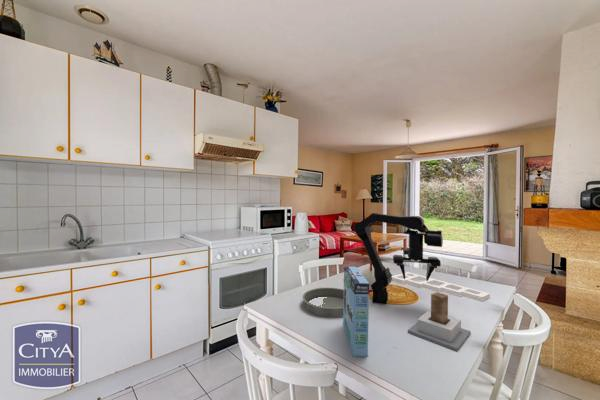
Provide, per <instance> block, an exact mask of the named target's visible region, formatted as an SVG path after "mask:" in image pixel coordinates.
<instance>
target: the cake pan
mask: <svg viewBox="0 0 600 400" xmlns="http://www.w3.org/2000/svg"><path fill="white" fill-rule="evenodd" d="M318 297H327V298H324V299H323V304H322V307H321V305H320V306H316V305H313V304H311V303H309V301H310V300H312V299H314V298H318ZM302 300H303V302H304V303H305V306H306V308H307V310H309V311H310V313H311V312H312V313H313V314H315V315H318V316H325V317H343V301H344V288H343V289H342V288H337V287H318V288H312V289H309V290H307V291H305V292H304V293H303V294H302ZM324 303H325V304H324Z"/></svg>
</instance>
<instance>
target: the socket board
mask: <svg viewBox="0 0 600 400" xmlns="http://www.w3.org/2000/svg"><path fill="white" fill-rule="evenodd" d="M471 333H472V332H471V330H469V329H465V328H462V320H461V319H459V318H456V317H453V316H449V315H448V323H447V324H446V325H443V324H440V323H437V322H434V321H431V310H428V311H427V312H425V313H424V314H423V315H421V316H420V317H419V318H417V322H416V323H415V324H413V325H412V326H410V327H409V329H408V330H407V334H410V335H412V336H416V337H418V338H419V339H423V340H425V341H429V342H431V343H434V344H437V345H439V346H442V347H445V348H447V349H450V350H452V351H453V352H454V351H455V352H458V351H459V350H460V349H461V347H462V346H463V345H464V343H466V340H467V339H468V338H469V337H470V335H471Z"/></svg>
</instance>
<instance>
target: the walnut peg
mask: <svg viewBox="0 0 600 400" xmlns="http://www.w3.org/2000/svg"><path fill="white" fill-rule="evenodd" d="M430 311H431V321H434V322H437V323H440V324H443V325H446V324H447V323H448V316H449V313H448V312H449V295H448V294H444V293H443V292H442V293H441V292H437V291H435V292H433V293H432V294H431V295H430Z"/></svg>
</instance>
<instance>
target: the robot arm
mask: <svg viewBox="0 0 600 400" xmlns="http://www.w3.org/2000/svg"><path fill="white" fill-rule="evenodd" d="M377 222H378V223H386V224H390V225H398V226H402V227H405V228H407V229H406V231H404V232H403V233H404V234H405V235H408V246H406V247H403V255H406V256H407V257H404V256H403V255H402V254H394V255H393V256H392V261H393V264H396V266H398V267H399V268H400V271H401V274H403V277H404V279H405V273H406V272H405V264H404V263H419V264H426V276H425V277H426V281H428V279H429V278H431V275H432V273H433V271H434V270H435V269H438V267H441V265H442V264H441V260H440V259H439V258H438V257H435V256H427V258H424V244H425V245H426V246H430V247H437V248H442V247H443V242H444V240H443V231H442V230H431V229H429V228H428V226H426V225H425V221H424V219H423V218H422V216H420V215H411V216H409V215H407V216H400V215H392V214H386V213H385V214H383V213H378V212H372V213H370V214H369V215H368V216H367V217H366V218H364V219H363V220H361V221H357V222H356V223H355V224H354V225H353V231H354V233H355V234H356V236H357V237H358V238H359V239H360V240H361V242H362V243H363V246H364V248H365V251H366V253H367V256H368V258H369V262H370V261H371V263H372V267H373V268H374V276H375V280H376V281H375V282H374V283H373V284H372V285H371V288H372V290H373V293H372V299H371V301H372V304H379V305H380V304H381V305H382V304H383V305H387V304H388V301H389V291H387V287H388V286H389V285H390V284H391V282H393V281H392V277H391V276H393V274H392V273H391V271H390V268H389V267H387V268H386V267H385V265H384V264H383V262H382V260H381V258H380V255H379V252H378V251H377V248H376V245H375V243H374V241H373V239H372V231H371V227H372V226H373V225H374V224H376V223H377Z"/></svg>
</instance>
